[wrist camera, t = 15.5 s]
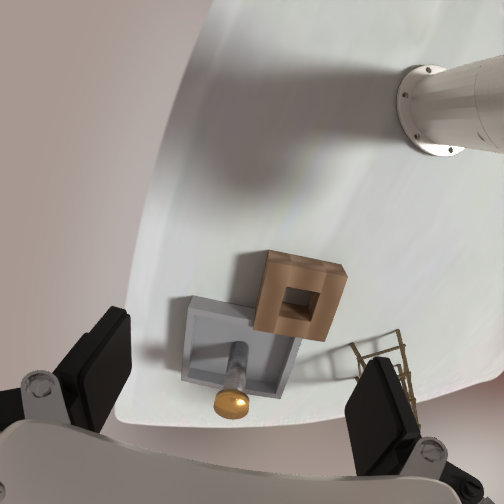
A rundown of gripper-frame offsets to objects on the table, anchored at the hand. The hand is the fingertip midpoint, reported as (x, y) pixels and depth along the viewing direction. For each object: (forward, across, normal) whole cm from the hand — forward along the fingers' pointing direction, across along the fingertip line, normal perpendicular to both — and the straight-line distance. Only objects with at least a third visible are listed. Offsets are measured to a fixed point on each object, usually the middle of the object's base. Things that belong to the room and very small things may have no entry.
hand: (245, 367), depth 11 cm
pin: (+29, -1, +22) cm, 37 cm away
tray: (+30, -1, +22) cm, 37 cm away
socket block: (+30, -7, +11) cm, 33 cm away
